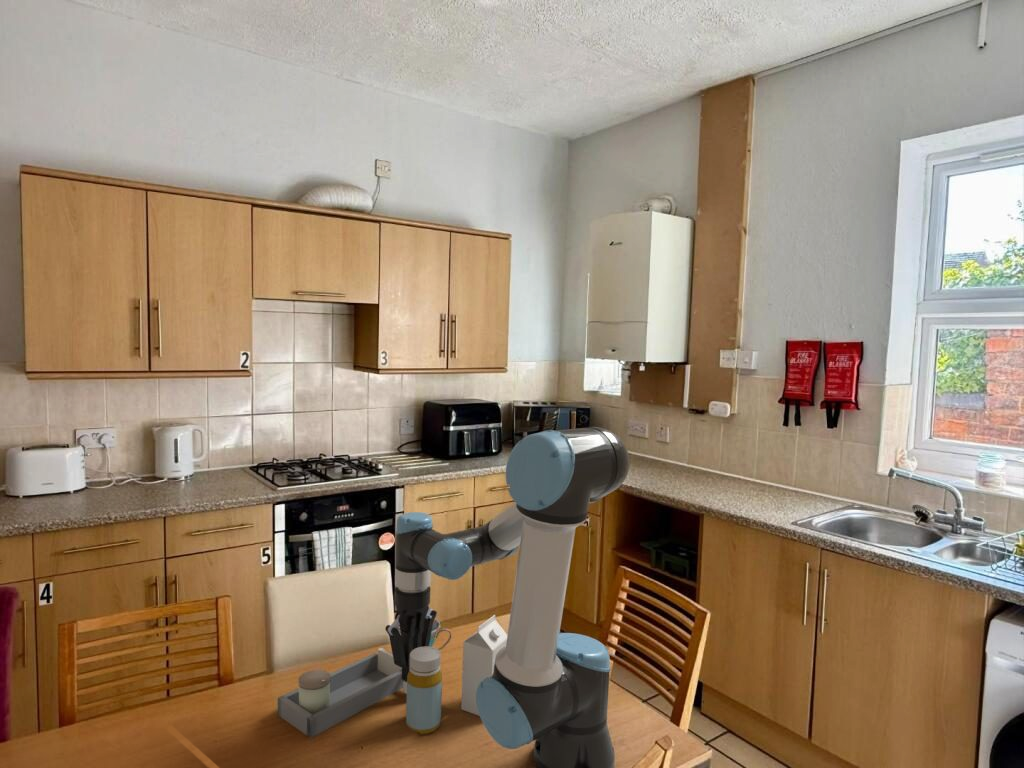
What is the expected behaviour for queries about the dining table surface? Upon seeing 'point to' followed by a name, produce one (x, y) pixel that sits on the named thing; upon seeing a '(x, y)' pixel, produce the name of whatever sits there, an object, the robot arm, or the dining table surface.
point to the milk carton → (480, 660)
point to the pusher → (386, 662)
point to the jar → (314, 690)
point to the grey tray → (342, 696)
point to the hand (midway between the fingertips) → (410, 693)
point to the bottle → (424, 690)
